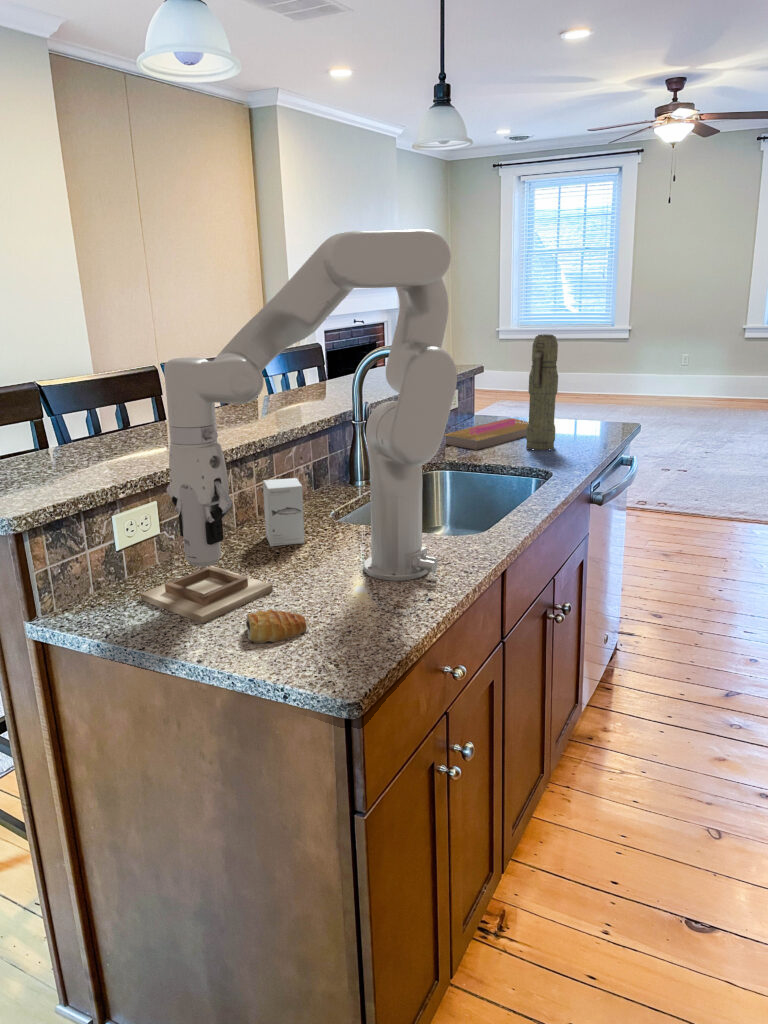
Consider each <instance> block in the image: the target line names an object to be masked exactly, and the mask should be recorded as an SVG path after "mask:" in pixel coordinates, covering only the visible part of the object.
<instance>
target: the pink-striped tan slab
mask: <svg viewBox="0 0 768 1024" xmlns="http://www.w3.org/2000/svg"><path fill="white" fill-rule="evenodd" d="M528 424H529V421H526V420H521V419H517V418H513V417H510V418H505V419H501V420H497V421H493V422H488V423H484V424H479V425H475V426H471V427H467V428H464V429H460V430H456V431H453V432H452V431H451V432H448V433H444V436H445V445H448V446H449V445H450V446H452V447H458V448H463V449H464V448H465V449H469V450H475V451H479V450H481V448H482V449H485V447H486V448H489V446H490V447H492V445H493V446H496V444H497V445H499V444H500V443H501V444H504V443H508V442H511V440H512V441H515V439H516V440H519V439H522V438H521V437H523V438H526V437H525V436H526V431H527V426H528ZM444 436H443V437H444ZM518 438H519V439H518ZM507 441H508V442H507ZM478 449H479V450H478Z"/></svg>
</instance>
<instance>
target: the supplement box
mask: <svg viewBox="0 0 768 1024" xmlns="http://www.w3.org/2000/svg"><path fill="white" fill-rule="evenodd" d="M262 490H263V491H262V492H263V493H262V494H263V506H264V507H263V509H264V523H265V525H264V526H265V537H266V539H267V541H268V544H269V546H270V547H271V548H273V547H277V546H285V545H286V546H287V545H296V544H299V545H300V544H305V541H306V540H305V539H306V538H305V521H304V520H305V519H304V496H303V492H304V491H303V485H302V483H301V482H300V481H299V479H298V478H297V477H292V478H276V479H265V480H263V479H262Z"/></svg>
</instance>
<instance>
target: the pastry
mask: <svg viewBox="0 0 768 1024" xmlns="http://www.w3.org/2000/svg"><path fill="white" fill-rule="evenodd" d="M246 617H247V618H246V619H245V626H246V629H247V631H246V633H247V639H248V640H249V641H250V642H253V643H257V644H265V643H267V642H271V643H275V642H280V641H285V640H287V639H292V638H295V637H298V636H300V635H302V634H304V633H305V632H306V631H307V628H308V627H307V622H306V618H305V616H304V615H300V614H298V613H295V612H294V613H291V612H289V611H282V610H276V611H275V610H273V609H267V611H265V610H264V611H263V610H257V611H256V612H255V613H247V616H246Z"/></svg>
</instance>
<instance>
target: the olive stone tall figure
mask: <svg viewBox="0 0 768 1024" xmlns="http://www.w3.org/2000/svg"><path fill="white" fill-rule="evenodd" d="M558 348H559V344H558V340H557V337H556V335H554V334H548V333H547V334H546V333H545V334H538V335H536V336H535V337H534V339H533V342H532V350H531V351H532V353H531V354H532V355H531V361H532V365H531V370H530V372H529V376H528V394H529V404H528V405H529V407H528V408H529V409H528V410H529V411H528V422H529V423H528V426H527V431H526V437H525V441H526V445H525V446H526V447H525V448H526V449H527V448H529V449H534V450H549V449H553V448H554V449H555V441H556V440H555V439H556V426H555V414H556V396H557V394H558V386H559V373H558V369H557V368H558V367H557V362H558V350H559V349H558ZM529 449H528V450H529ZM554 449H553V450H554ZM534 450H533V451H534ZM549 451H550V450H549Z"/></svg>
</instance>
